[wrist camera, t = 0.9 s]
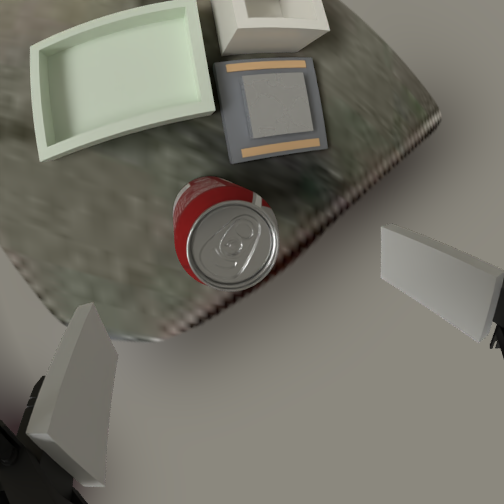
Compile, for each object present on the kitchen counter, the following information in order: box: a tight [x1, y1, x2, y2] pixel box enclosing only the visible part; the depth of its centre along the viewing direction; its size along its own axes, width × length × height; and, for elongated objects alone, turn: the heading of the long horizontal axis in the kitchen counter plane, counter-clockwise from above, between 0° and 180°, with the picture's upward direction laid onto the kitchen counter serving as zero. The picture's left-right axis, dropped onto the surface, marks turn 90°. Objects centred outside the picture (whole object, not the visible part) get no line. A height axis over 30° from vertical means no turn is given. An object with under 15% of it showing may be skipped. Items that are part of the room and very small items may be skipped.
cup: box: [211, 0, 330, 56], centre depth 19 cm, size 8×8×7 cm
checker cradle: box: [212, 57, 328, 164], centre depth 25 cm, size 10×10×1 cm
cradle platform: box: [240, 72, 313, 139], centre depth 24 cm, size 6×6×1 cm
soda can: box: [173, 176, 279, 292], centre depth 22 cm, size 7×7×12 cm
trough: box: [30, 0, 215, 162], centre depth 19 cm, size 12×16×3 cm
